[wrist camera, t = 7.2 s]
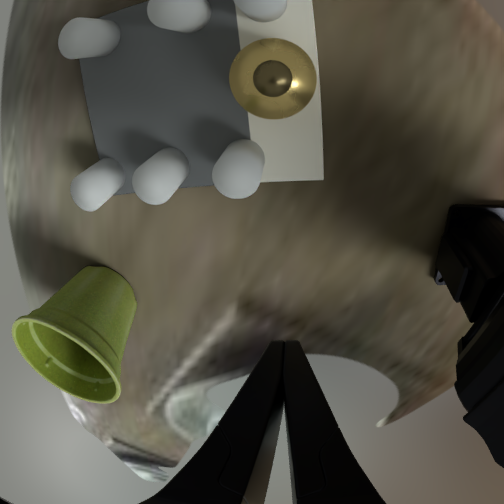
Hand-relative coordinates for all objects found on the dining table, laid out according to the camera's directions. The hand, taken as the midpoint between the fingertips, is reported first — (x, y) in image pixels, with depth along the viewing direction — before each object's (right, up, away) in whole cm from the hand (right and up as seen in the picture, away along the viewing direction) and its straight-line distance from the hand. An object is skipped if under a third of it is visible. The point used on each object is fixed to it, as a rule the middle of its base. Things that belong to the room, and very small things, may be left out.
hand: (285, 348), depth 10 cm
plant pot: (-14, 0, +17) cm, 22 cm away
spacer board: (-4, +12, +7) cm, 15 cm away
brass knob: (0, +12, +6) cm, 13 cm away
